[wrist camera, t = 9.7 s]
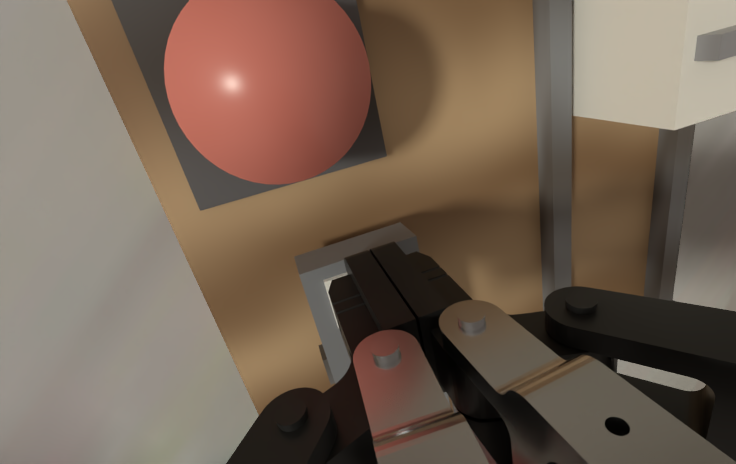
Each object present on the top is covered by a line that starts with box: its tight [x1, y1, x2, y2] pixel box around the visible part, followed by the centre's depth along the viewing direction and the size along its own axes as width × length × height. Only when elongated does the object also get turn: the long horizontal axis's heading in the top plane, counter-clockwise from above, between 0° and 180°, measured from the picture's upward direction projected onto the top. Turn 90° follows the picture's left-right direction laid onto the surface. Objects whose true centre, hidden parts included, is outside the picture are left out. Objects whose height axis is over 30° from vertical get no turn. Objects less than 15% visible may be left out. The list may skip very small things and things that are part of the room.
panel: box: [67, 0, 695, 415], centre depth 16 cm, size 20×20×4 cm
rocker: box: [294, 222, 450, 405], centre depth 14 cm, size 10×4×2 cm, turn 12°
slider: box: [572, 0, 736, 130], centre depth 12 cm, size 4×4×5 cm
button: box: [164, 0, 371, 185], centre depth 10 cm, size 4×4×3 cm
